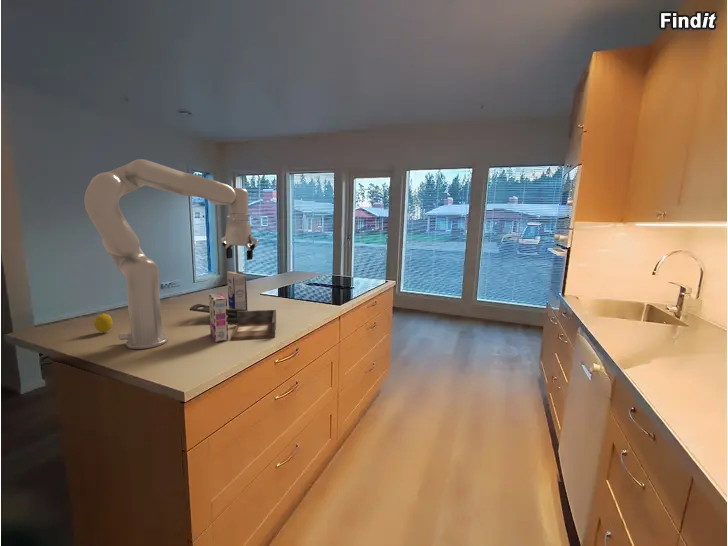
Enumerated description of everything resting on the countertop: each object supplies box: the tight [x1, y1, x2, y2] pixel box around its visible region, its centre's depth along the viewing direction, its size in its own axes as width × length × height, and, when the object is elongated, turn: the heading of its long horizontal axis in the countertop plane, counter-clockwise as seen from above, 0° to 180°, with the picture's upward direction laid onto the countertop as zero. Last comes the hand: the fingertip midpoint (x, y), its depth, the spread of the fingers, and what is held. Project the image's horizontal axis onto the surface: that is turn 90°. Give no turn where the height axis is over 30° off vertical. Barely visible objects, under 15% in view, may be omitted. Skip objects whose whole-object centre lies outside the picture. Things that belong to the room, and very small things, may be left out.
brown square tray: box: [230, 309, 277, 341], centre depth 133 cm, size 16×18×6 cm
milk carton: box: [226, 270, 248, 310], centre depth 160 cm, size 7×7×20 cm
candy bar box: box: [208, 292, 229, 343], centre depth 125 cm, size 11×5×16 cm, turn 33°
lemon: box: [94, 313, 114, 334], centre depth 127 cm, size 6×6×8 cm
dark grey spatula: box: [189, 303, 249, 325], centre depth 146 cm, size 9×7×25 cm
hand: (239, 258), depth 139 cm, fingers open, 9 cm apart
